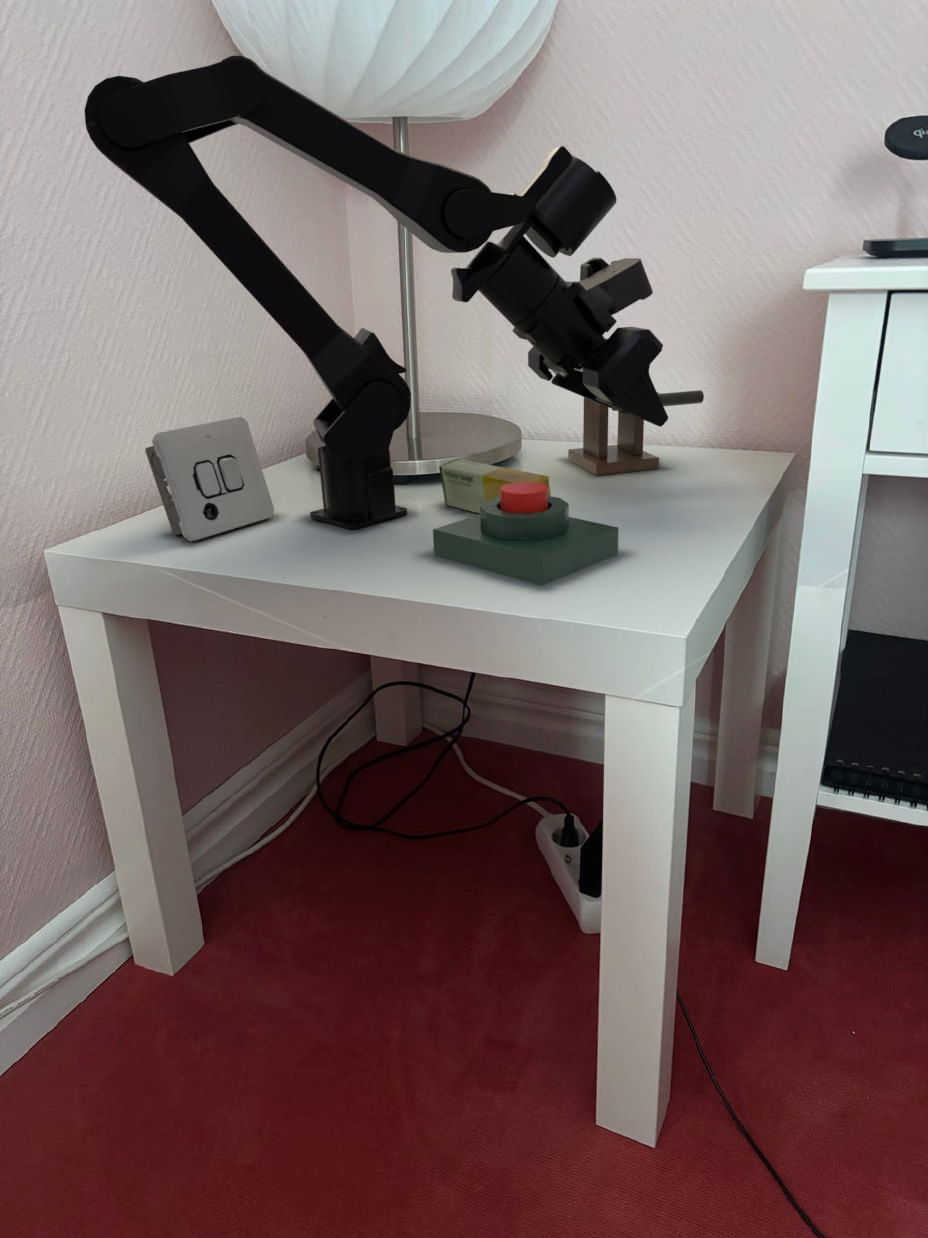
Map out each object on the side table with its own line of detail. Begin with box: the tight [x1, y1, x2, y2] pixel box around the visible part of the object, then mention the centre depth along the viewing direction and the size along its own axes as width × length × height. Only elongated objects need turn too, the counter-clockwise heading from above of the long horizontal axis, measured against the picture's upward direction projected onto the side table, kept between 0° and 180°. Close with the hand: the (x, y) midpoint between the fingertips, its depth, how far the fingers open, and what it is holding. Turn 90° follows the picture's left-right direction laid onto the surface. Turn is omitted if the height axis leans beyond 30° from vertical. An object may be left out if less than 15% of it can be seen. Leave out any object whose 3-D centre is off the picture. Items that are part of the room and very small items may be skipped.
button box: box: [432, 495, 620, 587], centre depth 69 cm, size 11×9×4 cm
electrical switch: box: [144, 416, 275, 542], centre depth 79 cm, size 9×5×9 cm, turn 141°
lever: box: [610, 389, 705, 412], centre depth 90 cm, size 12×9×2 cm
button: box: [500, 482, 548, 513], centre depth 68 cm, size 4×4×2 cm
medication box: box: [438, 458, 552, 514], centre depth 80 cm, size 12×3×4 cm, turn 40°
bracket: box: [567, 397, 660, 476], centre depth 95 cm, size 8×7×11 cm
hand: (646, 416), depth 85 cm, fingers open, 7 cm apart
